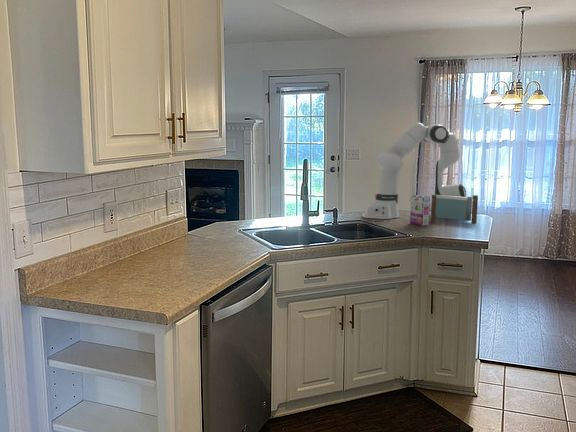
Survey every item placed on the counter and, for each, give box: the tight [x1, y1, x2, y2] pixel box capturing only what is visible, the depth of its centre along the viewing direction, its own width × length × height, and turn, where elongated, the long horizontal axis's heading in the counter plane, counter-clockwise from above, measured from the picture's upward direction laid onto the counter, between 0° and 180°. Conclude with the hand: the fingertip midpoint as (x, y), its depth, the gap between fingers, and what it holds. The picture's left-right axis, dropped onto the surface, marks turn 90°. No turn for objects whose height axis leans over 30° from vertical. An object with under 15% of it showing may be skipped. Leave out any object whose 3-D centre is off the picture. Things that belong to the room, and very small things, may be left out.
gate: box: [436, 195, 473, 222], centre depth 325 cm, size 23×2×14 cm, turn 50°
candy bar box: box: [409, 194, 431, 227], centre depth 314 cm, size 11×5×16 cm, turn 25°
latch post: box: [430, 194, 437, 224], centre depth 320 cm, size 2×2×16 cm
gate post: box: [471, 194, 479, 225], centre depth 318 cm, size 2×3×16 cm
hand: (447, 210), depth 328 cm, fingers closed
